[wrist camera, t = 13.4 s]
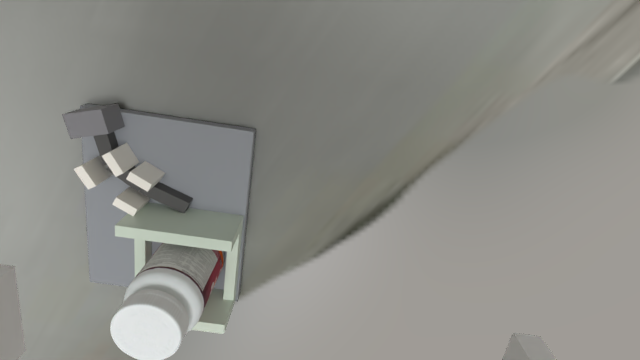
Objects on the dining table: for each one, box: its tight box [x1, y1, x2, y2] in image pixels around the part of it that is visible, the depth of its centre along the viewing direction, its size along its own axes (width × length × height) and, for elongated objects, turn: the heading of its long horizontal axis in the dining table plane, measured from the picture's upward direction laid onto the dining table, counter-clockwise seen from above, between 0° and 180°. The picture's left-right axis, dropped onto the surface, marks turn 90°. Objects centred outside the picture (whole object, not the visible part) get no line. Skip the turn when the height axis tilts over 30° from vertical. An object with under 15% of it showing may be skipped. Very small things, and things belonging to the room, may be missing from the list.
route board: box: [62, 104, 256, 301], centre depth 37 cm, size 19×15×4 cm
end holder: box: [115, 202, 243, 334], centre depth 37 cm, size 10×10×5 cm
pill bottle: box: [110, 243, 224, 360], centre depth 34 cm, size 6×6×11 cm
